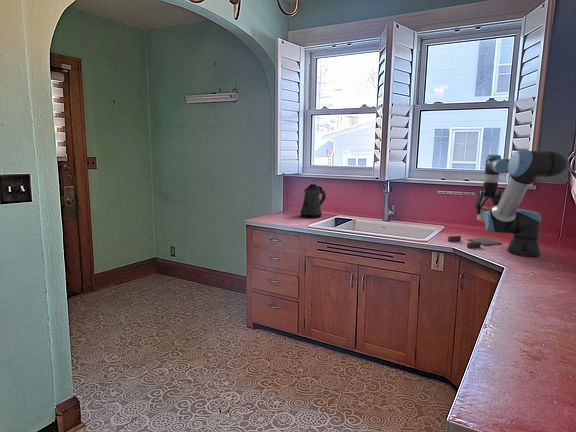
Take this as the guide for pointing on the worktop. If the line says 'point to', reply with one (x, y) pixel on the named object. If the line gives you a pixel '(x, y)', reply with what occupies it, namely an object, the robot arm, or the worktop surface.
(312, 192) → the dark grey tall jug
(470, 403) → the worktop surface
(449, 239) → the pot cradle
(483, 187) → the robot arm
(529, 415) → the worktop surface
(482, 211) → the lidded jar
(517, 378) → the worktop surface
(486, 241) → the rubber mat
